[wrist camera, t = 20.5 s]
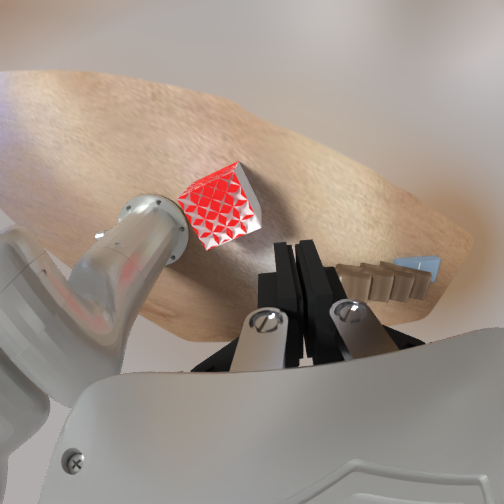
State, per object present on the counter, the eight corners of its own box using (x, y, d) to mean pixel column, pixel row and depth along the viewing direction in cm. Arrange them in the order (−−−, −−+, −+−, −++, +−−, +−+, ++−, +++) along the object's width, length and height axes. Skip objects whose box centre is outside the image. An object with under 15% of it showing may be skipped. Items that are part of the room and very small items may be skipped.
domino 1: (309, 294, 46) (366, 305, 42) (311, 270, 44) (371, 280, 40) (312, 289, 47) (367, 299, 43) (313, 265, 45) (371, 274, 41)
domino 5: (392, 286, 45) (434, 281, 44) (398, 262, 43) (440, 259, 42) (389, 281, 47) (431, 277, 46) (394, 258, 44) (436, 255, 44)
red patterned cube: (191, 183, 39) (176, 198, 32) (238, 160, 38) (233, 170, 31) (215, 228, 43) (206, 251, 36) (261, 208, 41) (261, 228, 34)
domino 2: (333, 293, 46) (387, 302, 42) (335, 268, 44) (393, 278, 39) (335, 287, 47) (388, 297, 43) (337, 263, 45) (393, 272, 41)
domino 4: (374, 289, 45) (423, 300, 41) (380, 265, 43) (432, 277, 39) (374, 284, 47) (423, 294, 43) (380, 261, 44) (431, 272, 40)
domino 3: (354, 291, 46) (406, 303, 42) (359, 267, 43) (414, 279, 39) (355, 286, 47) (406, 297, 43) (361, 262, 45) (414, 274, 41)
